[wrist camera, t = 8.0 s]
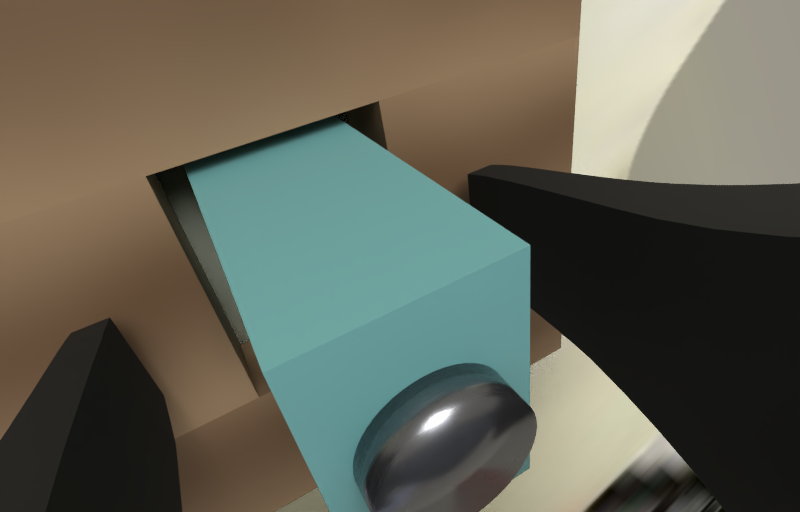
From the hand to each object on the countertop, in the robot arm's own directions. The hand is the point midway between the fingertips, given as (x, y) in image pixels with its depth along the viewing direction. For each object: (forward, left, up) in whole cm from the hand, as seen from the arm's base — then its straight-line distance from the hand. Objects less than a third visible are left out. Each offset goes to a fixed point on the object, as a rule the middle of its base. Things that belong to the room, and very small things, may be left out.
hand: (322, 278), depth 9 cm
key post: (0, 0, -3) cm, 3 cm away
